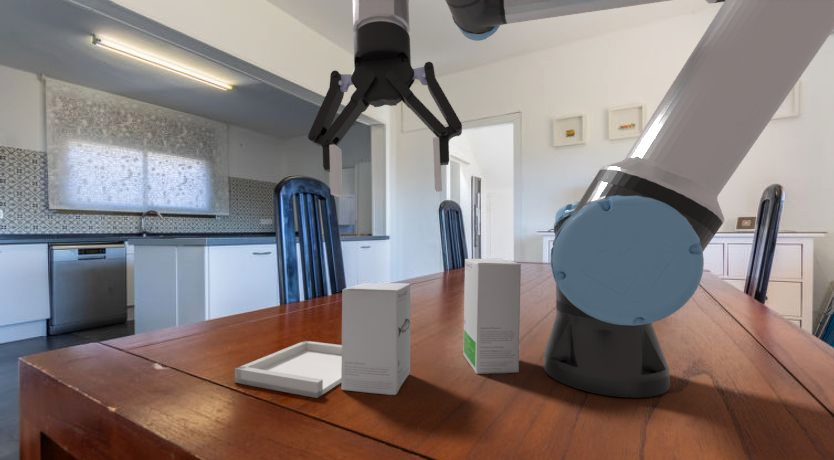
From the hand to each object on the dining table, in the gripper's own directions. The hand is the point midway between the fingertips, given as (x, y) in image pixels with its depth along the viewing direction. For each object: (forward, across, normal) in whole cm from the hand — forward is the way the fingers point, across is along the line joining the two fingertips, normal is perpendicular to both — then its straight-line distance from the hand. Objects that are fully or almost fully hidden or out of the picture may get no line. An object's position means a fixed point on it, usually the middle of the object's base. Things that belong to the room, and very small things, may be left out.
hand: (386, 193), depth 47 cm
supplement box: (+25, +2, -1) cm, 25 cm away
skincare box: (+25, -13, -9) cm, 30 cm away
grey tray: (+24, +13, -3) cm, 28 cm away
